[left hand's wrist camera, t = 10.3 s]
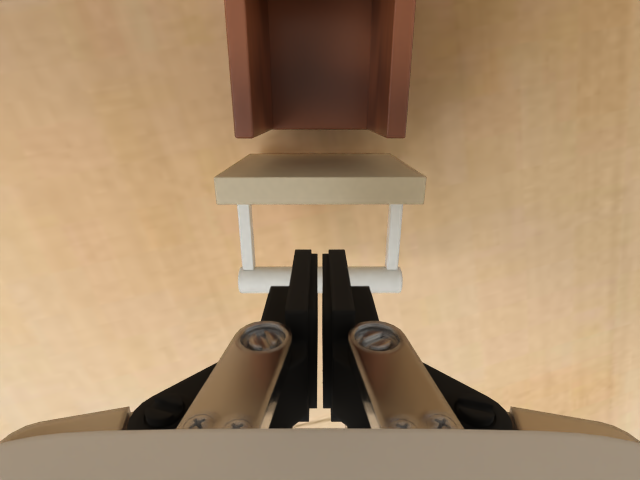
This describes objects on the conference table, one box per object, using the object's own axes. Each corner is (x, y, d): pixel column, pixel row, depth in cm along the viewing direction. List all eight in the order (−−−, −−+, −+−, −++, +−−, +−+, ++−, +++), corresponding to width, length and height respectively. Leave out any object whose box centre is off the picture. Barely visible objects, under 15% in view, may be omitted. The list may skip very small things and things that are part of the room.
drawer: (384, 251, 25) (412, 314, 17) (256, 251, 25) (227, 315, 17) (414, -209, 17) (492, -473, 9) (225, -209, 17) (145, -472, 9)
